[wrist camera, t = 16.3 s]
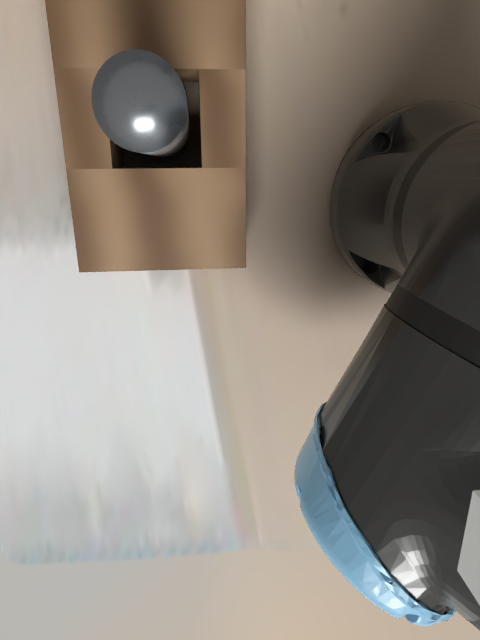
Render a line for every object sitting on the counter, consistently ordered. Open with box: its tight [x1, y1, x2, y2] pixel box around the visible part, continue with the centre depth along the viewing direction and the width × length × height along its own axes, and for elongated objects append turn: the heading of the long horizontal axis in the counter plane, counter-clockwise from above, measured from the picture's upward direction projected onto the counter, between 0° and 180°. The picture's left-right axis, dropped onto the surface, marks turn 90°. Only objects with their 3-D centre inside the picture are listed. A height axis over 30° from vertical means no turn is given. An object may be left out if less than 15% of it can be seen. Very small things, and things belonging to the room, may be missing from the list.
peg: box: [91, 49, 190, 157], centre depth 28 cm, size 4×4×14 cm
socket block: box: [45, 0, 246, 272], centre depth 32 cm, size 12×20×5 cm, turn 0°
